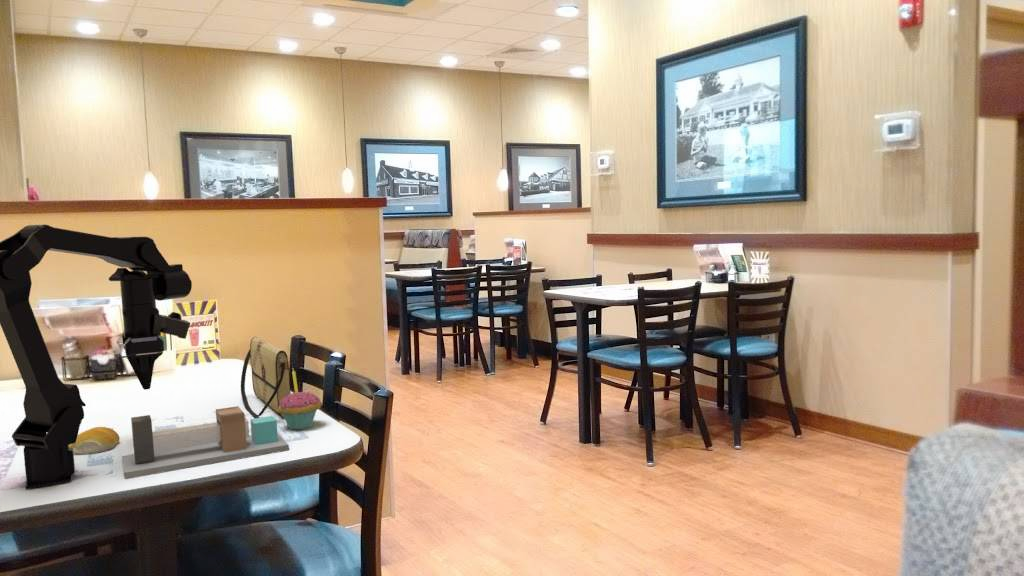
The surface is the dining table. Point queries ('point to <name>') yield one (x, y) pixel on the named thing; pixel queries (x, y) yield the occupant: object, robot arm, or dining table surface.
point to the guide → (207, 448)
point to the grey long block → (171, 437)
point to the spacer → (264, 430)
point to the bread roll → (95, 440)
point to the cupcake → (299, 407)
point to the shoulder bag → (266, 374)
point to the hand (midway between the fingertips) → (145, 384)
